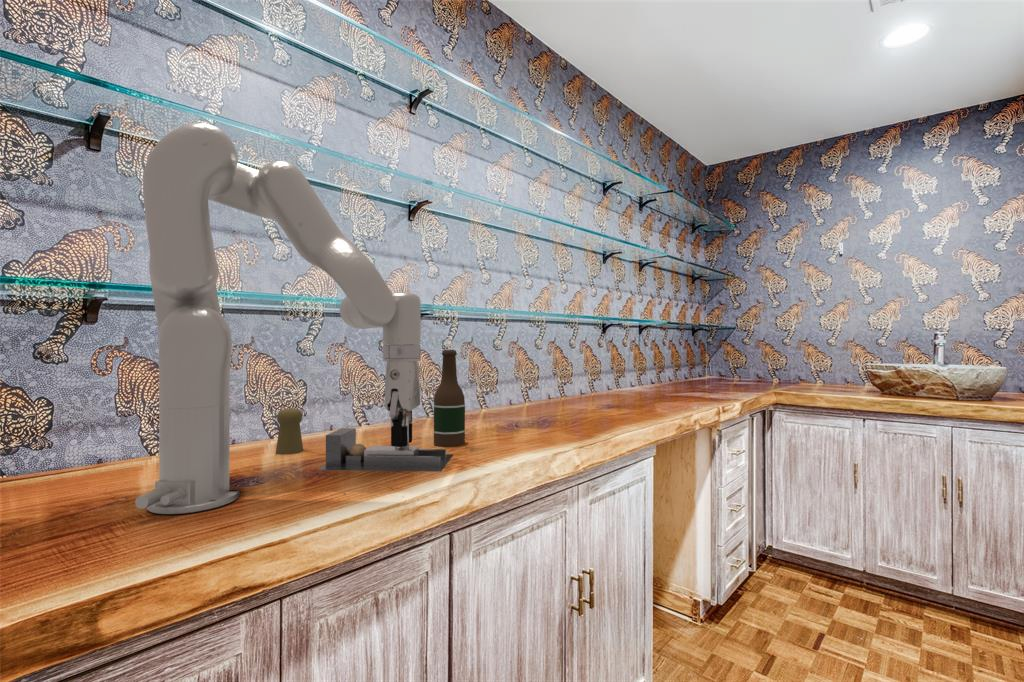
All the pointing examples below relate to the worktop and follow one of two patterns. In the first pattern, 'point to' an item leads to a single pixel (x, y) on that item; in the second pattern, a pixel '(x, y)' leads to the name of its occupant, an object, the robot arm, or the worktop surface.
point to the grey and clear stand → (392, 449)
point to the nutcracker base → (378, 457)
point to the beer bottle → (449, 406)
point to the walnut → (357, 450)
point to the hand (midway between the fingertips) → (401, 443)
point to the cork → (289, 432)
